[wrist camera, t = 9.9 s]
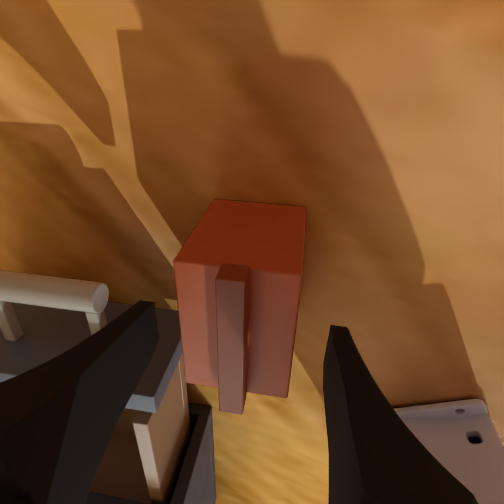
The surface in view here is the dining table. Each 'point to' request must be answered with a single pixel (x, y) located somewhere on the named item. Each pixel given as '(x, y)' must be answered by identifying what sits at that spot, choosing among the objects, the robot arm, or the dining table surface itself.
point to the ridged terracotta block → (241, 298)
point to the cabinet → (187, 466)
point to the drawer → (143, 398)
